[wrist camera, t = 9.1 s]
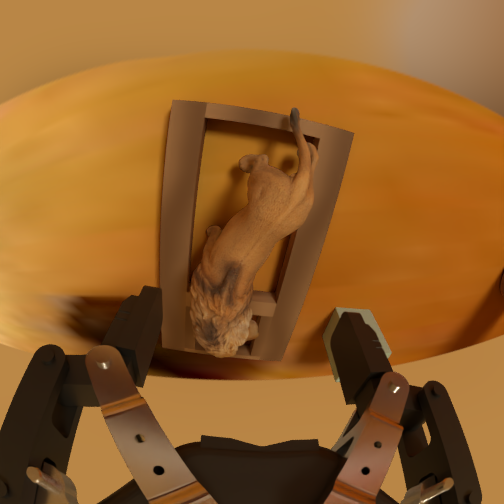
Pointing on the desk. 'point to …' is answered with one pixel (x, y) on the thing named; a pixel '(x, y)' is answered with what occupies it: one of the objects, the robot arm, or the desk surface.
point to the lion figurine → (248, 247)
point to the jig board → (182, 223)
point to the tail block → (331, 327)
